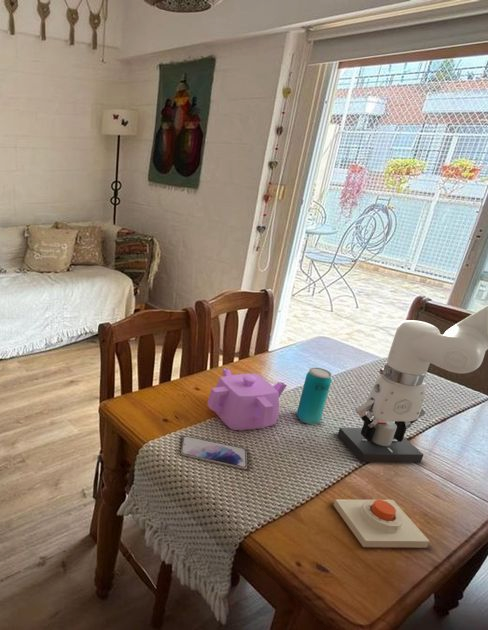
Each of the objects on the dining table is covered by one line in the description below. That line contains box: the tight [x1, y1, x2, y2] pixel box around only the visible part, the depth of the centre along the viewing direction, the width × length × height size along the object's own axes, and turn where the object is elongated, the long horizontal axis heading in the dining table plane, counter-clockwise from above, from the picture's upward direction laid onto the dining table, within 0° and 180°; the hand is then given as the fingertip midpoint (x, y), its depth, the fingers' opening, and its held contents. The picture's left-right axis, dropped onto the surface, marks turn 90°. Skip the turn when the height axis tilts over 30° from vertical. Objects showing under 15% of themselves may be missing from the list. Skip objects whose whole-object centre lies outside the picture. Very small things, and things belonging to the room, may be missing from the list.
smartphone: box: [180, 435, 248, 470], centre depth 106 cm, size 7×1×15 cm
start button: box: [371, 499, 396, 521], centre depth 85 cm, size 4×4×2 cm
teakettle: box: [206, 368, 288, 431], centre depth 118 cm, size 17×17×12 cm
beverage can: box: [296, 367, 332, 425], centre depth 116 cm, size 6×6×15 cm
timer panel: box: [337, 427, 425, 464], centre depth 107 cm, size 14×10×3 cm
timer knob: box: [372, 421, 397, 446], centre depth 106 cm, size 4×4×5 cm
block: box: [333, 498, 430, 549], centre depth 86 cm, size 12×10×4 cm
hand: (381, 437), depth 106 cm, fingers open, 6 cm apart
